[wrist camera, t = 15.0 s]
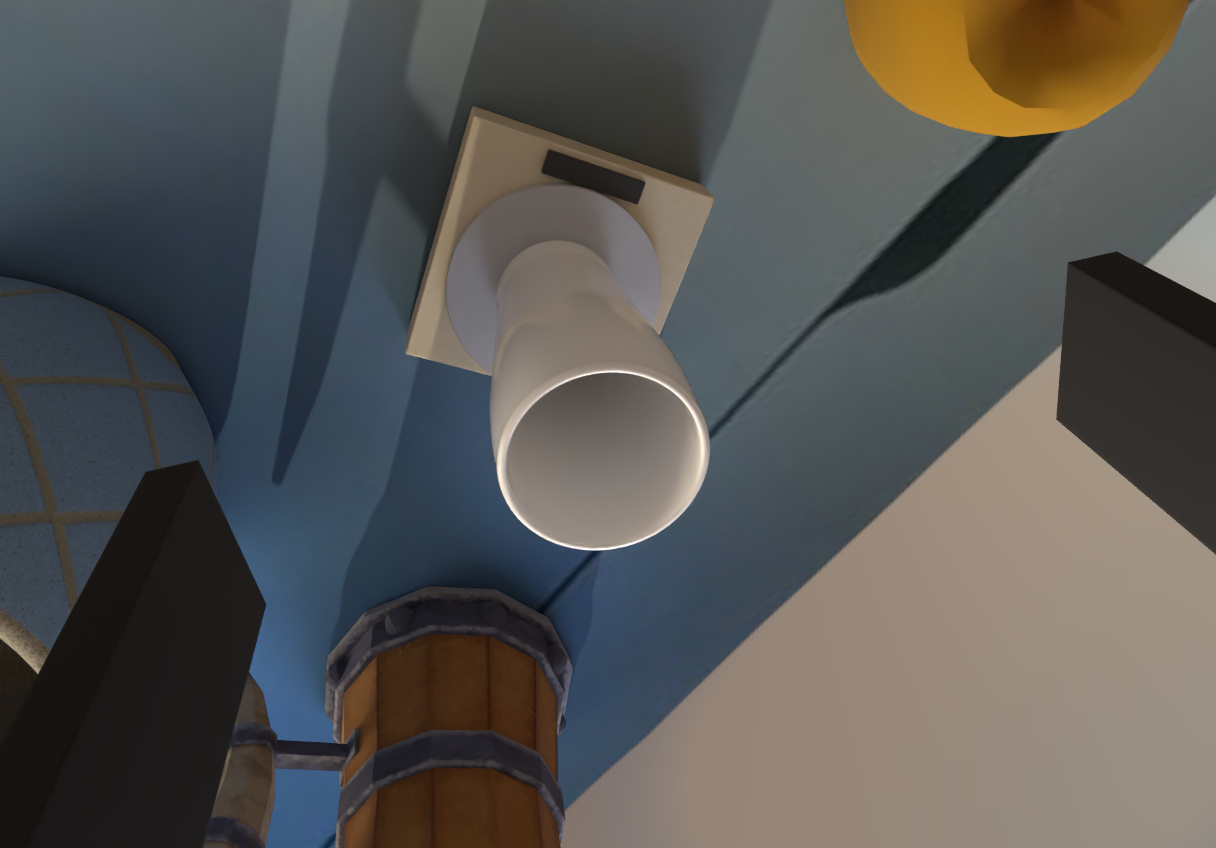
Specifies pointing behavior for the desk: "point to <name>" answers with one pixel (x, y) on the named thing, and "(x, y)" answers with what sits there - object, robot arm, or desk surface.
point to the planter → (75, 452)
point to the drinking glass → (588, 405)
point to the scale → (546, 230)
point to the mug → (421, 730)
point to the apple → (1012, 57)
